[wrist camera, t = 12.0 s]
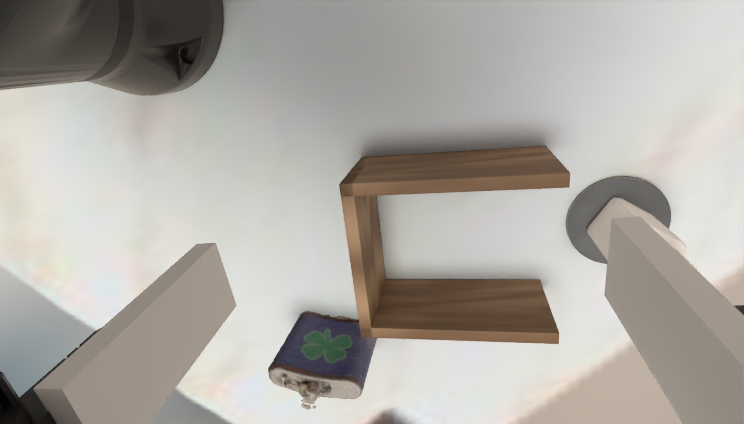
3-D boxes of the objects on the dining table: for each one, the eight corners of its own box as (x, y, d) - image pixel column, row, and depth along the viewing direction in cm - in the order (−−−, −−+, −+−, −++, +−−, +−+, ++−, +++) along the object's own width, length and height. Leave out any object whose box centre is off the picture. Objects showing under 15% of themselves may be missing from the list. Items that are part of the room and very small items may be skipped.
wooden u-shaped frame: (361, 157, 38) (339, 184, 30) (545, 146, 34) (570, 173, 27) (377, 287, 43) (361, 337, 35) (539, 288, 39) (558, 343, 32)
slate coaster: (569, 178, 35) (570, 180, 34) (674, 173, 33) (678, 176, 33) (563, 261, 38) (565, 264, 37) (660, 260, 36) (663, 263, 36)
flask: (379, 321, 44) (358, 399, 35) (378, 342, 46) (356, 424, 36) (298, 308, 46) (256, 379, 36) (299, 329, 47) (258, 404, 37)
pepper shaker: (654, 214, 34) (722, 272, 26) (621, 251, 36) (674, 316, 27) (612, 192, 34) (666, 242, 26) (581, 229, 36) (622, 288, 27)
